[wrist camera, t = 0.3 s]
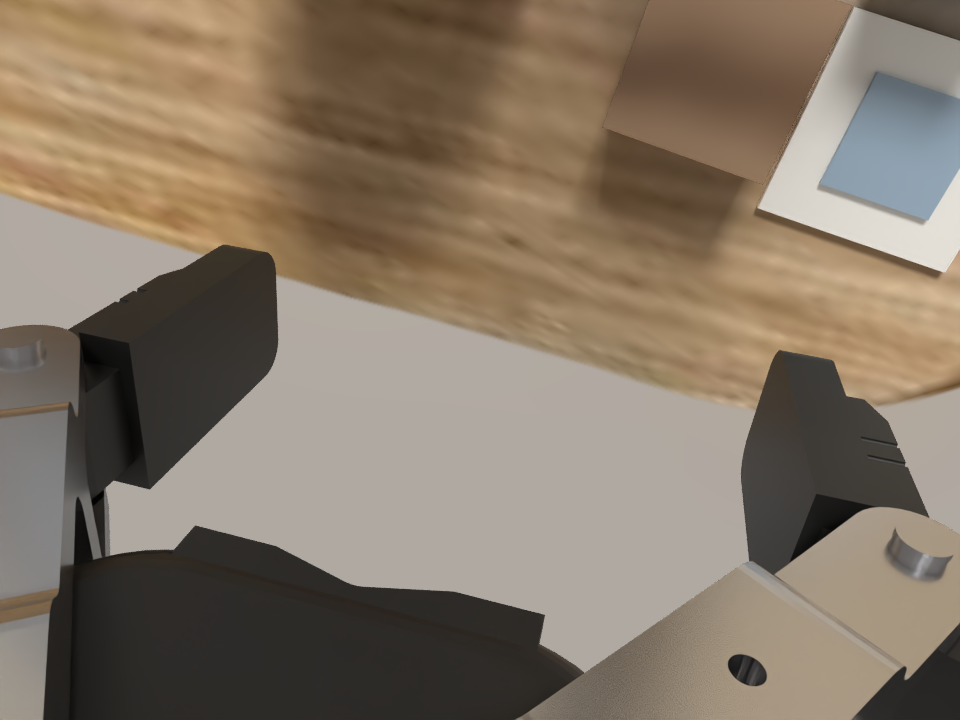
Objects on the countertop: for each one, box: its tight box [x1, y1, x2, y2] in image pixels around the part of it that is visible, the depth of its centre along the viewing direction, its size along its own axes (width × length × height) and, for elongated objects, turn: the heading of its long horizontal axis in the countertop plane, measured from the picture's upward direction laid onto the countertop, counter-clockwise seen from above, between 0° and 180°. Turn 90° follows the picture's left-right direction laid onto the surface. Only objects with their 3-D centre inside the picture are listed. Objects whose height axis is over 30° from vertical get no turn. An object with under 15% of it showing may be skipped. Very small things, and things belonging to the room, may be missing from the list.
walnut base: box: [603, 0, 852, 185], centre depth 32 cm, size 7×7×5 cm
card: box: [757, 7, 960, 273], centre depth 34 cm, size 9×9×1 cm
